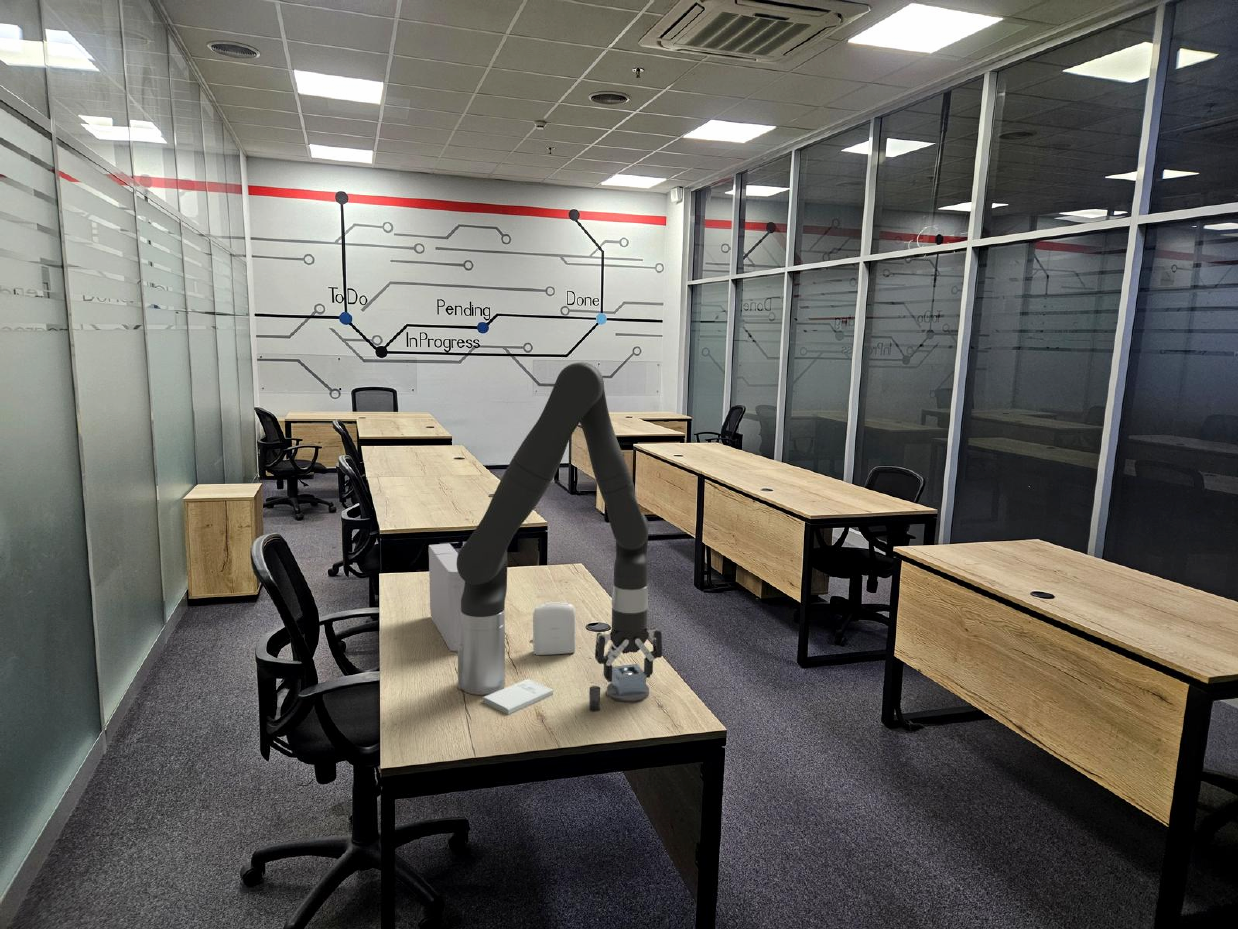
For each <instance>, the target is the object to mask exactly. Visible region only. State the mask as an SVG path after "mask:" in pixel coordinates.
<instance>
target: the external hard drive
mask: <svg viewBox="0 0 1238 929" xmlns="http://www.w3.org/2000/svg"><path fill="white" fill-rule="evenodd" d="M553 695H554V690H553V689H552V688H550V687H548V686H545V685H543V684H541V683H539V682H537V681H534V680H533V679H530V678H526V679H524V680H522V681H519V682H517V683H515V684H512V685H509V686H507V687H504V688H502V689H501V690H499V691H497V692H494V693H491V694H486V695H485V696H482V703H483V704H486V705H487V706H489V707H491V708H494V709H496V710H498V711H501V712H502V713H504V714H506V715H511V714H513V713H516V712H518V711H520V710H522V709H524V708H527V707H529V706H531V705H533V704H535V703H537V702H540V701H541V700H544V699H546V698H548V697H551V696H553Z"/></svg>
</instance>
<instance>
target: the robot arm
mask: <svg viewBox="0 0 1238 929" xmlns="http://www.w3.org/2000/svg"><path fill="white" fill-rule="evenodd" d="M604 382H605V380H604V377H603V375H602V373H601V371H600V370H599V369H598V368H597V367H596V366H594V365H593V364H591V363H588V362H584V361H583V362H574V363H570V364H569V365H567V366H565V367H564V368H563V369H562V370H561V371H560V372H559V374H558V375H557V377H556V381H555V383H554V385H553V386H552V390H551V392H550V395H549V397H548V399H547V401H546V403H545V405H544V408H543V410H542V412H541V413H540V416H539V418H538V420H537V421H536V423H535V424H534V425H533V427H532V428H531V430H530V431H529V432H528V433H527V435H526V437H525V438H524V440H523V441H522V442H521V445H520V446H519V447H518V449H517V451H516V452H515V453H514V456H513V457H512V459H511V461H510V462H509V464H508V466H507V467H506V469H505V471H504V473H503V475H502V478H501V479H500V481H499V483H498V484H497V487H496V490H495V491H494V494H493V496H492V498H491V500H490V502H489V505H488V506H487V509H486V512H485V514H484V515H483V517H482V518H481V520H480V522H479V523H478V525H477V527H476V528H475V529H474V531H473V532H472V534H470V537H469V538H468V539H467V540H466V542H465V543H464V544H463V545H462V547H461V548H460V549H459V551H458V552H457V553H458V556H457V570H458V573H459V575H460V577H461V578H462V579H463V580H464V581H465V585H464V591H463V594H462V598H461V644H460V645H459V646H458V651H457V688H458V690H463V692H466V693H468V694H471V695H478V696H479V695H481V696H483V695H485V696H486V695H490V694H492V693H494V692H497V691H499V690H502V689H504V688H505V686H506V648H505V647H506V645H505V644H506V643H505V641H506V635H505V634H506V626H505V624H506V623H505V622H506V620H505V619H506V618H505V616H506V615H505V614H506V613H505V612H506V611H505V609H506V608H505V607H506V606H505V604H506V596H507V592H508V590H507V589H508V552H507V551H508V547H509V546H510V544H511V542H512V539H513V537H514V535H515V534H516V533H517V531H518V530H519V529H520V527H521V526H522V524H523V523H524V522H525V521H526V520H527V518H528V517H529V516H530V515H531V513H532V512H533V511H534V509H535V508H536V506H537V505H538V504H539V502H540V501H541V499H542V498H543V496H544V495H545V493H546V491H547V490H548V488H549V486H550V484H551V483H552V481H553V479H554V478H555V476H556V474H557V471H558V470H559V467H560V466H561V465H560V464H561V463H562V460H563V458H564V455H565V452H566V449H567V447H568V443H569V441H570V439H571V437H572V435H573V434H574V432H575V430H576V428H577V427H578V425H580V427H581V428H582V433H583V436H584V438H585V443H586V446H587V451H588V456H589V460H590V463H591V468H592V472H593V475H594V478H595V481H596V484H597V487H598V489H599V492H600V495H601V497H602V500H603V502H604V505H605V509H606V512H607V518H608V521H609V525H610V529H611V531H612V534H613V537H614V540H615V553H616V554H615V560H614V565H613V566H614V567H613V588H612V595H611V597H612V598H611V630H610V633H604V634H603V633H602V632H597V633H596V638H595V640H596V641H595V653H594V658H595V660H596V661H597V663H598V664H599V665H602V664H603V672H602V673H603V677H604V679H605V680H606V681H607V682H608V683H611V682H612V667H613V665H612V664H613V663H614V661H615V660H616V659H617V658H619V656H620V655H621V654H622V655H625V654H628V653H633V654H635V653H638V652H639V651H641V652H642V653H643V655H644V656H645V657H644V659H643V663H644V664H643V672H644V673H645V674H646V679H649V678H651V675H653V673H654V660H655V659H657V658H658V659H660V658H662V656H663V641H662V640H663V638H662V637H663V636H662V632H661V630H659V628H658V627H653V628H652V629H649V630H648V606H649V603H648V602H649V600H648V599H649V594H648V563H647V555H648V554H647V552H648V542H649V541H648V540H649V526H650V525H649V521H648V519H647V517H646V516H645V514H643V513H642V511H641V508H640V506H639V504H638V500H637V496H636V488H635V484H634V482H633V479H632V476H631V473H630V471H629V468H628V464H627V462H626V459H625V456H624V454H623V451H622V448H621V447H620V444H619V442H618V439H617V436H616V433H615V430H614V427H613V423H612V421H611V416H610V412H609V408H608V403H607V398H606V391H605V383H604ZM649 637H650V639H651V640H652V651H650V650H649V649H648V648H647V646H646V645H645V643H646V642H647V640H648V639H649ZM609 641H610V642H612V643H611V645H610V646H609V647H608V651H607V652H606V653H605V648H606V647H605V646H607V644H608V642H609Z"/></svg>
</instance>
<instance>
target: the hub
mask: <svg viewBox="0 0 1238 929" xmlns="http://www.w3.org/2000/svg"><path fill="white" fill-rule="evenodd" d="M630 674H633V672H632V671H625V672H623V675H630ZM606 695H607V696H608V697H609V699H611V700H614V701H616V702H622V703H626V702H632V703H638V702H642V701H644V700H646V699H647V698H648V697H649V695H650V687H649V686H648V684H646V693H642V694H634V695H626V696H618V694H617V693H616V692H615V690H614V689H613V687H612V686H611V682H609V683H608V685H607V687H606Z"/></svg>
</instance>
